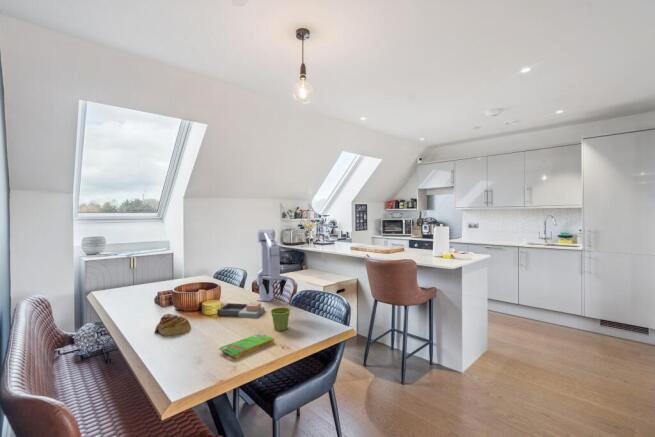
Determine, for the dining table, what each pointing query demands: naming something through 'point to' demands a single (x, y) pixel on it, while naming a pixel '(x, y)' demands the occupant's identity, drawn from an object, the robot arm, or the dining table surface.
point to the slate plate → (250, 313)
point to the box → (230, 309)
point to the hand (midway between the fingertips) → (274, 293)
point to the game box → (247, 345)
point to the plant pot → (280, 318)
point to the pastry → (172, 325)
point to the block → (253, 306)
